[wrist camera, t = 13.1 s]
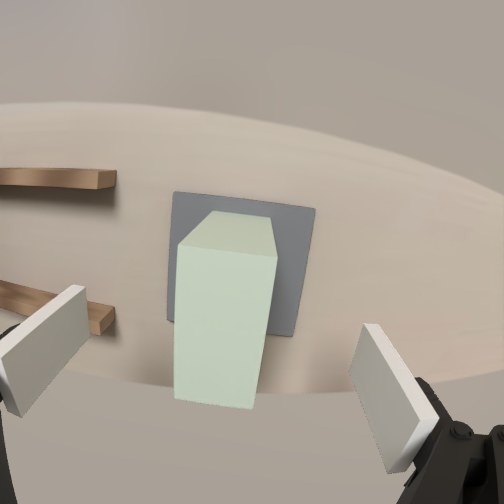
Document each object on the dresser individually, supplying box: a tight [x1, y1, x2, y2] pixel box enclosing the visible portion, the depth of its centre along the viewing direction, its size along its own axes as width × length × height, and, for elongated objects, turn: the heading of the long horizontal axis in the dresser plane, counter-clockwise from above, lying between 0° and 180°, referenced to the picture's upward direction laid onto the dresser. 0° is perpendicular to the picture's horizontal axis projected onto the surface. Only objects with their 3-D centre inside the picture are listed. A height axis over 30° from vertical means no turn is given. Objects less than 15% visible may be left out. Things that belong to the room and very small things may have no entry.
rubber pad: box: [167, 191, 315, 336], centre depth 24 cm, size 10×10×1 cm
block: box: [174, 211, 278, 409], centre depth 19 cm, size 4×8×10 cm, turn 173°
